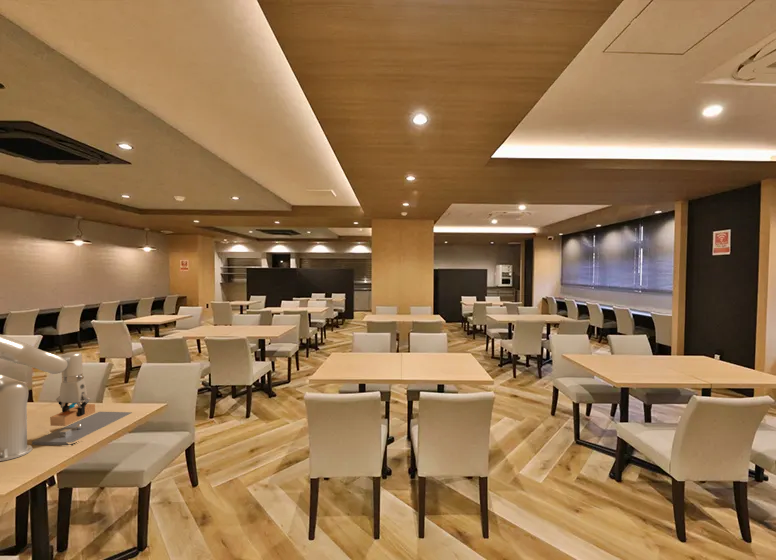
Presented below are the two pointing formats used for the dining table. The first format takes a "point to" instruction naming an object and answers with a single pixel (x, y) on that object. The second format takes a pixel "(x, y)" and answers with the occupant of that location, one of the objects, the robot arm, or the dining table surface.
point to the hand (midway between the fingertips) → (73, 414)
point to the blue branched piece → (72, 405)
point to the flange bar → (70, 415)
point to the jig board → (84, 430)
